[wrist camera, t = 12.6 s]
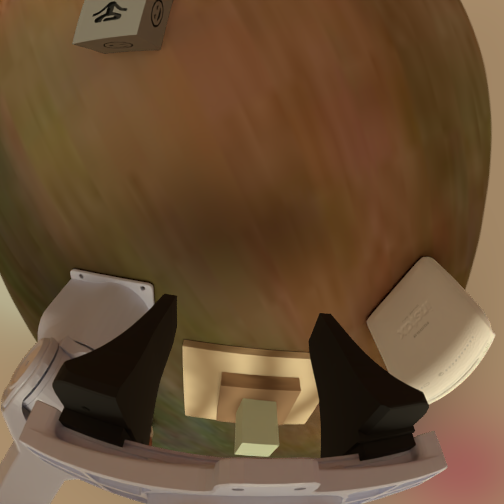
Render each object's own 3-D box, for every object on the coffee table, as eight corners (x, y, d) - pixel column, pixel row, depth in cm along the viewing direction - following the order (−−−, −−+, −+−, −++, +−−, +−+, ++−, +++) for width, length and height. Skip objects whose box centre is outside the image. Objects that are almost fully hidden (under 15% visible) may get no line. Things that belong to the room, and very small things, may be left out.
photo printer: (423, 247, 23) (498, 328, 12) (442, 266, 24) (508, 343, 13) (358, 321, 27) (397, 418, 16) (382, 333, 28) (421, 421, 17)
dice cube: (105, 53, 15) (72, 44, 11) (118, 3, 13) (90, -15, 9) (160, 50, 16) (136, 34, 11) (174, -2, 13) (155, -28, 9)
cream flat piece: (186, 409, 36) (183, 426, 33) (184, 339, 28) (179, 359, 26) (303, 418, 37) (305, 434, 34) (342, 353, 30) (348, 372, 27)
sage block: (235, 413, 31) (234, 454, 25) (242, 398, 29) (242, 442, 23) (266, 416, 31) (268, 456, 26) (276, 401, 29) (279, 445, 24)
